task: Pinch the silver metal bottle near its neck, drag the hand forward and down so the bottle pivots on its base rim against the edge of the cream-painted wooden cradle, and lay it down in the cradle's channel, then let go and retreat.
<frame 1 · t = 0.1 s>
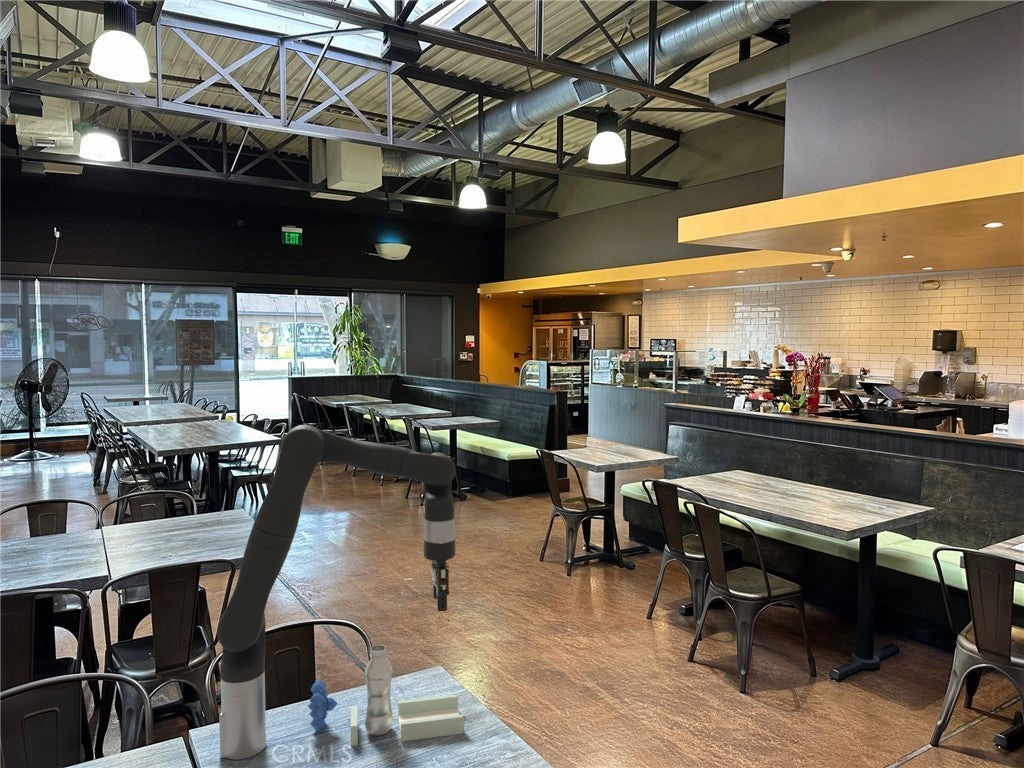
hand: (440, 604, 163), 29 cm above the table, fingers open, 8 cm apart
grapes: (323, 730, 162), on the table
silver metal bottle: (379, 732, 161), on the table
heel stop: (354, 734, 159), on the table
cradle: (434, 724, 163), on the table
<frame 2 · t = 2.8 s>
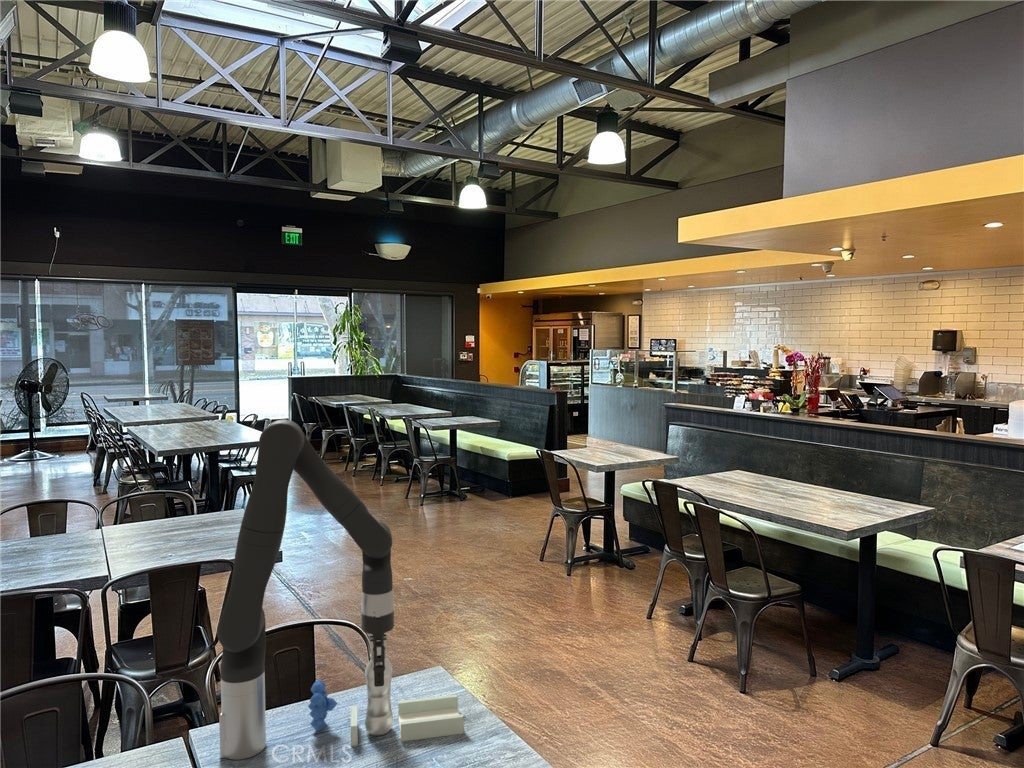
hand: (378, 678, 160), 13 cm above the table, fingers closed on silver metal bottle, 6 cm apart
silver metal bottle: (379, 732, 161), on the table, touching gripper
everything else where it was.
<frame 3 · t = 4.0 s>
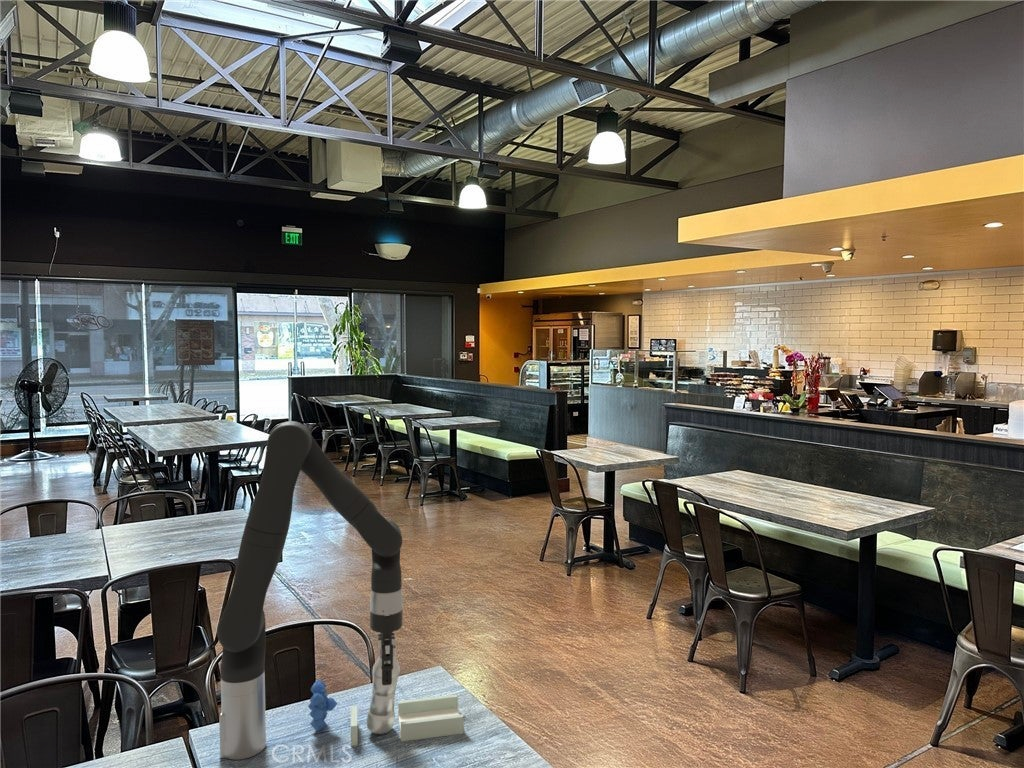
hand: (386, 677, 160), 13 cm above the table, fingers closed on silver metal bottle, 6 cm apart
silver metal bottle: (379, 731, 161), on the table, touching gripper
everything else where it was.
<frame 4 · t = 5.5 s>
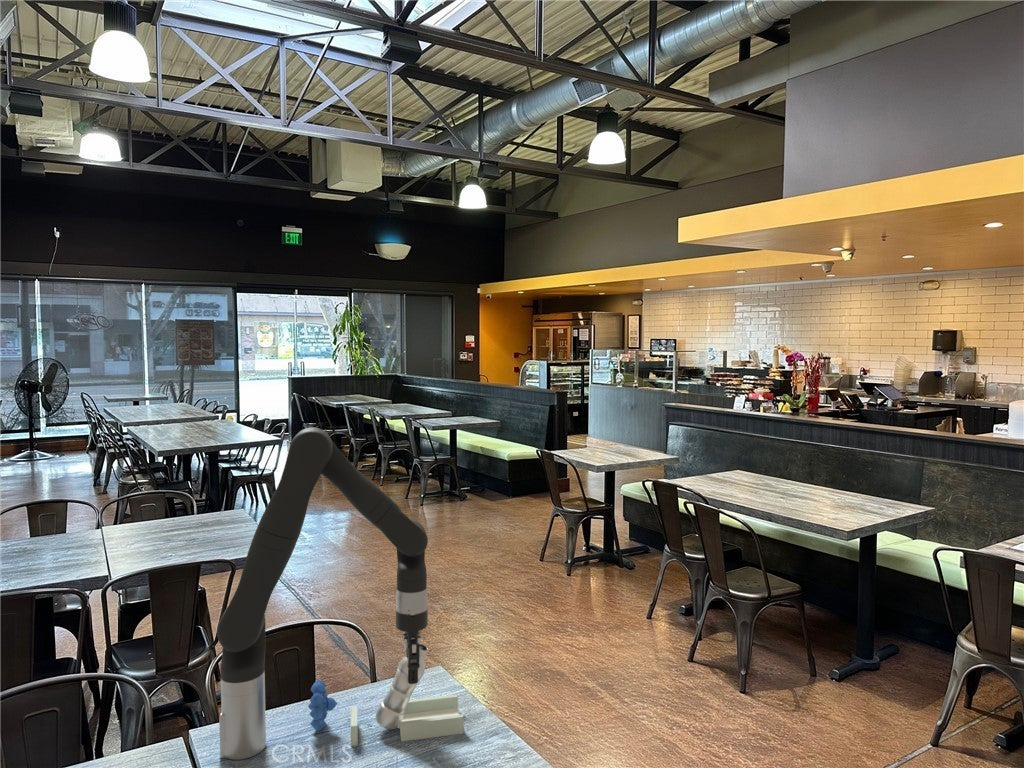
hand: (411, 676, 162), 12 cm above the table, fingers closed on silver metal bottle, 6 cm apart
silver metal bottle: (385, 725, 161), point 1 cm above the table, touching cradle, gripper
everything else where it was.
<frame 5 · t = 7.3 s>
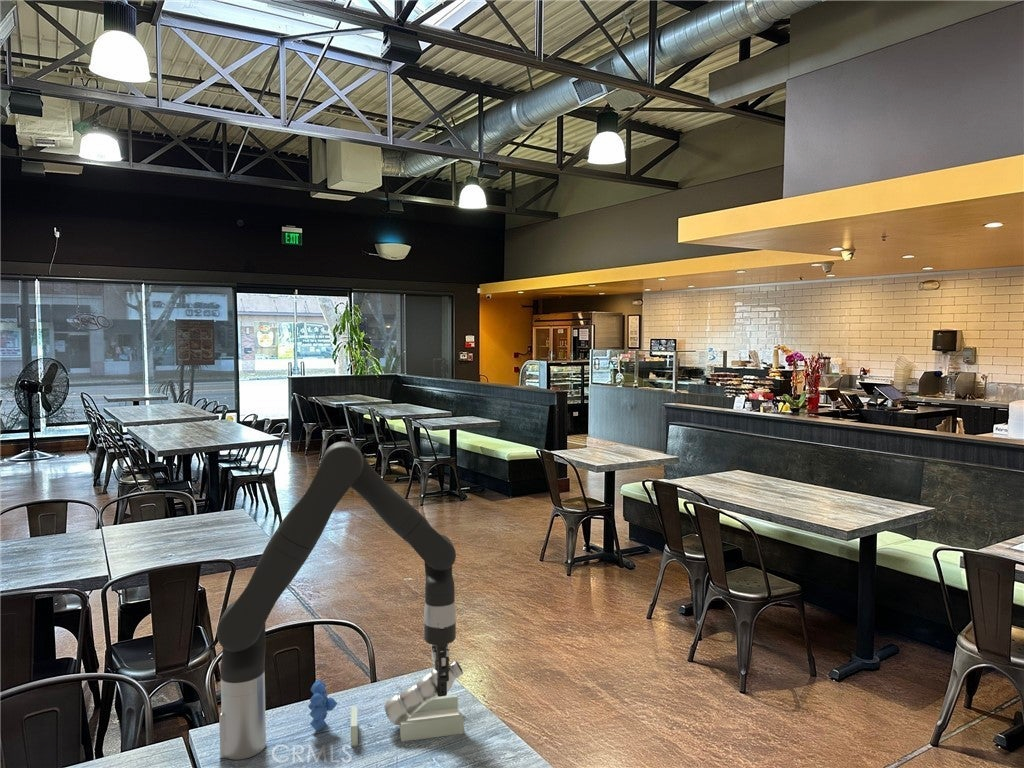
hand: (440, 688, 163), 9 cm above the table, fingers closed on silver metal bottle, 6 cm apart
silver metal bottle: (387, 716, 161), point 3 cm above the table, touching cradle, gripper
everything else where it was.
when the fingers open (7 cm above the table, at t = 8.4 s): silver metal bottle moves 1 cm, resting on cradle.
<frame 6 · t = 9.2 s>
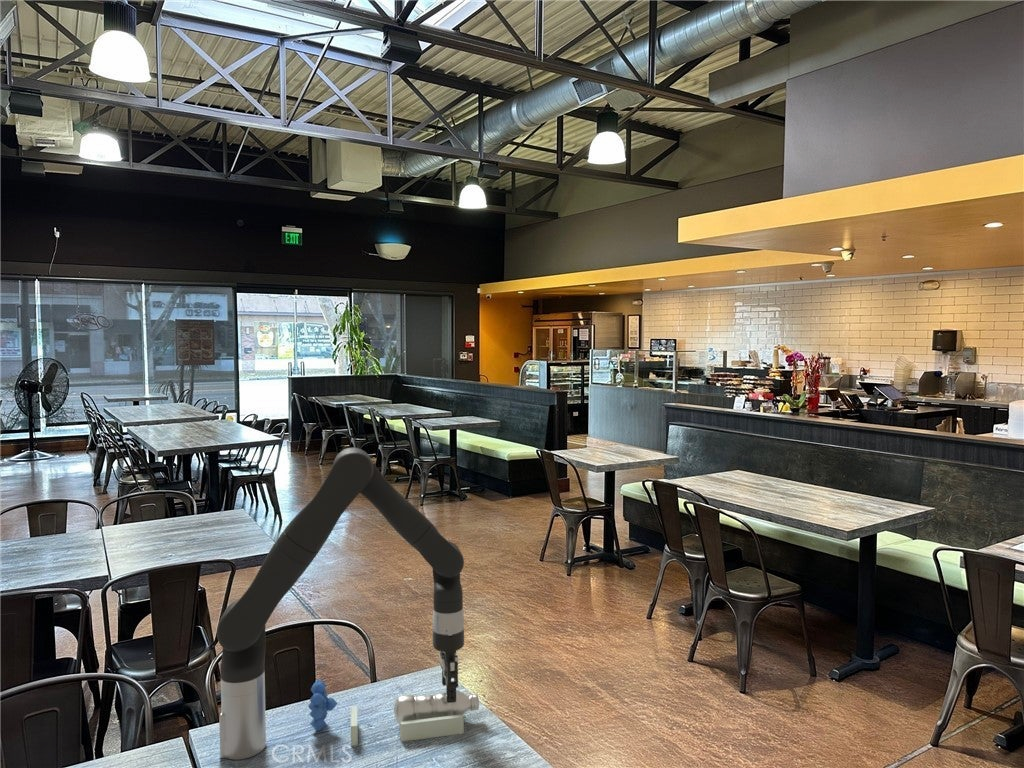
hand: (449, 693, 164), 7 cm above the table, fingers open, 8 cm apart
silver metal bottle: (393, 710, 161), point 4 cm above the table, touching cradle
everything else where it was.
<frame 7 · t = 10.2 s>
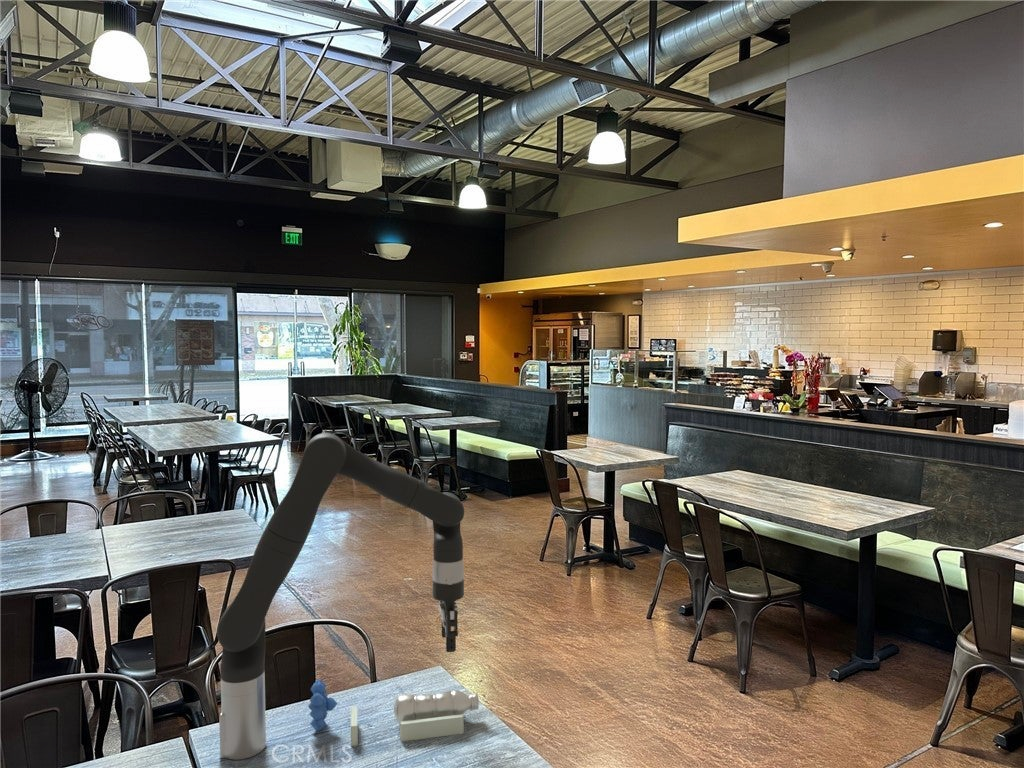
hand: (448, 643, 163), 19 cm above the table, fingers open, 8 cm apart
nothing on the table moved.
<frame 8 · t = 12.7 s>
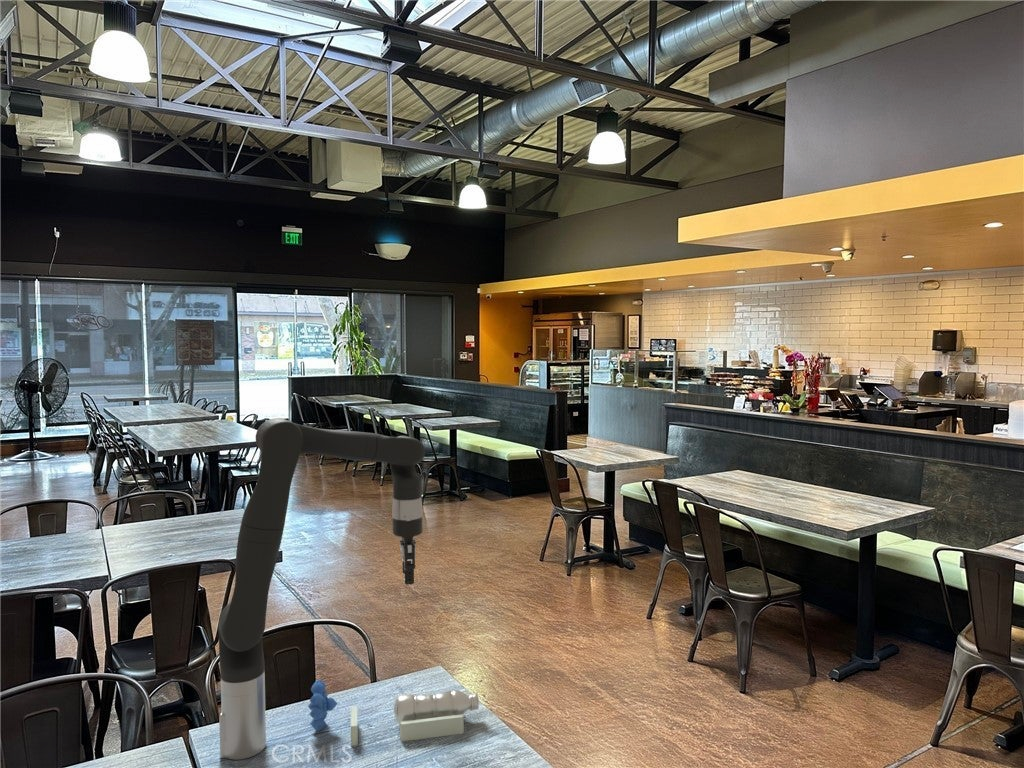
hand: (408, 578, 173), 32 cm above the table, fingers open, 8 cm apart
nothing on the table moved.
at the end: silver metal bottle tilted 90°; silver metal bottle inside the target area (2.5 cm from its centre), point 4.3 cm above the table; silver metal bottle touching cradle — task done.
